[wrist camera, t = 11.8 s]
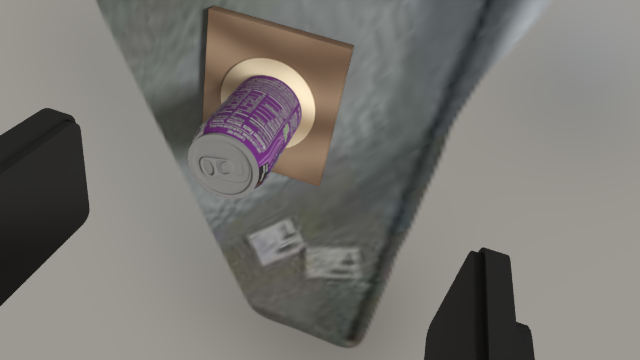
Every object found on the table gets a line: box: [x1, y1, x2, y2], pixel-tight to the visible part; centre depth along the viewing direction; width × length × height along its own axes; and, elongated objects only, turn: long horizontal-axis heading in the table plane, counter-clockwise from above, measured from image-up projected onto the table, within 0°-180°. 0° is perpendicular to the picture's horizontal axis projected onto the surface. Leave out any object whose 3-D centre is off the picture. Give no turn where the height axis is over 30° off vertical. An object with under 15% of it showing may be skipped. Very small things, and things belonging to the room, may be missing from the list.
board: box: [202, 6, 354, 186], centre depth 51 cm, size 16×14×2 cm
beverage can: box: [187, 75, 302, 199], centre depth 45 cm, size 7×7×12 cm
